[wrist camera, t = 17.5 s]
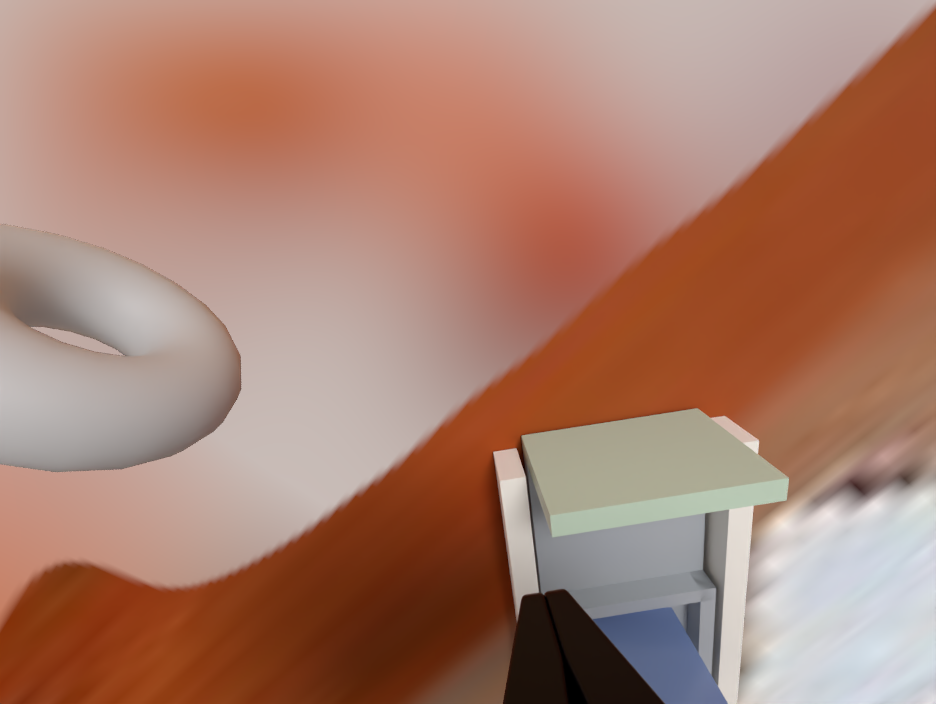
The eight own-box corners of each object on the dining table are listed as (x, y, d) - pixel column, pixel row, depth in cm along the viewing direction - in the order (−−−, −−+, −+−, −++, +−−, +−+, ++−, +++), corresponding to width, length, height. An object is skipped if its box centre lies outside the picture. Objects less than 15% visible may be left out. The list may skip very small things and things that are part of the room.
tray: (689, 663, 27) (755, 781, 22) (549, 685, 27) (578, 811, 21) (697, 408, 22) (789, 477, 16) (521, 435, 22) (550, 515, 16)
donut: (39, 269, 18) (-414, 333, 8) (73, 200, 17) (-379, 184, 8) (255, 399, 20) (92, 564, 11) (294, 343, 20) (156, 466, 10)
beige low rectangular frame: (710, 677, 28) (735, 720, 26) (528, 706, 28) (536, 752, 25) (724, 415, 22) (758, 440, 20) (493, 451, 22) (499, 481, 19)
